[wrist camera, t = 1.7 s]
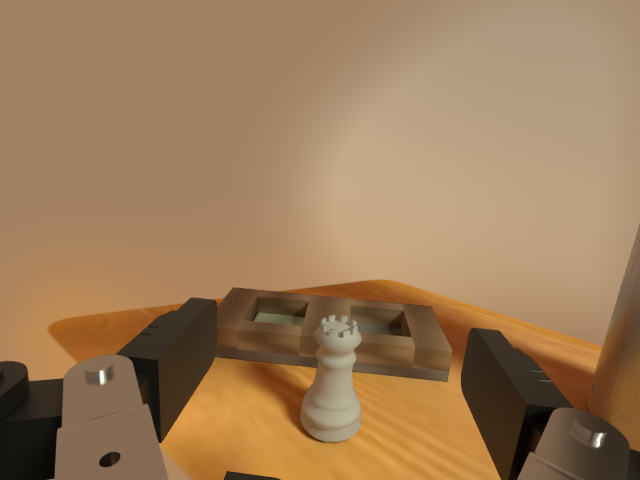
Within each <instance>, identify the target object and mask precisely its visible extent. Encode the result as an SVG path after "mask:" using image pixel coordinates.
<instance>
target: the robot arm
mask: <svg viewBox="0 0 640 480" xmlns="http://www.w3.org/2000/svg"><path fill="white" fill-rule="evenodd" d="M216 349H217V303H216V301H215V300H211V299H202V298H190V299H189V300H188V301H187V302H186V303H185V304H184V305H182V306H181V307H180V308H179V309H178V310H177V311H170V312H168V313H166V314H164V315H162V316H159V317H157V318H156V319H155V320H154V321H153V322H152V323H151V324H149V325H148V328H147V327H146V328H145V329H144V330H143V331H142V332H140V335H137V336H136V337H135V338H134V339H132V340H131V341H130V342H129V343H128V344H127V345H126V346H125V347H123V348H122V349H121V350H120V351H119V352H118V353H117V354H115V355H102V356H97V357H93V358H90V359H87V360H84V361H82V362H80V363H78V364H76V365H75V366H73V367H72V368H71V369H69V370H68V372H67V373H66V374H65V376H64V378H63V379H53V380H41V381H29V378H28V371H27V367H26V366H25V365H24V364H22V363H19V362H13V361H4V362H0V480H48V479H55V480H168V477H167V473H166V469H165V465H164V461H163V457H162V454H161V450H160V446H159V443H162V441H163V440H164V438H165V437H166V435H167V434H168V432H169V430H170V429H171V427H172V426H173V424H174V423H175V421H176V420H177V418H178V416H179V415H180V413H181V412H182V410H183V409H184V407H185V406H186V404H187V402H188V401H189V399H190V398H191V396H192V395H193V393H194V391H195V390H196V388H197V387H198V385H199V384H200V382H201V381H202V379H203V377H204V376H205V374H206V373H207V371H208V370H209V368H210V367H211V365H212V363H213V361H214V358H215V354H216ZM461 387H462V392H463V395H464V397H465V400H466V402H467V404H468V406H469V409H470V411H471V413H472V415H473V418H474V420H475V422H476V424H477V427H478V429H479V431H480V433H481V436H482V438H483V440H484V442H485V444H486V447H487V449H488V451H489V453H490V456H491V458H492V460H493V462H494V465H495V467H496V469H497V471H498V474H499V476H500V478H501V480H640V224H639V228H638V232H637V234H636V239H635V242H634V245H633V248H632V252H631V255H630V258H629V261H628V265H627V268H626V271H625V275H624V278H623V281H622V285H621V288H620V291H619V295H618V298H617V301H616V305H615V308H614V311H613V315H612V318H611V321H610V324H609V328H608V331H607V334H606V338H605V341H604V344H603V347H602V351H601V354H600V357H599V360H598V364H597V367H596V370H595V374H594V377H593V380H592V384H591V387H590V390H589V394H588V397H587V408H588V410H589V413H588V412H585V411H582V410H578V409H575V408H574V407H573V406H572V405H571V404H570V402H569V401H568V400H567V399H566V398H565V397H564V395H563V394H562V393H561V392H560V391H559V389H558V388H557V387H556V386H555V385H554V384H553V382H550V379H549V378H548V376H547V375H546V374H545V373H544V372H542V369H541V368H540V367H539V366H538V365H537V363H536V362H535V361H534V360H533V359H532V358H531V357H529V356H528V355H526V354H525V353H523V352H522V351H520V350H519V349H517V348H513V347H512V346H511V344H510V343H509V342H508V341H507V339H506V338H505V337H504V336H503V334H502V333H501V332H500V331H499V330H490V329H481V328H472V329H471V330H470V333H469V336H468V341H467V347H466V352H465V357H464V362H463V367H462V373H461ZM224 480H280V479H278V478H273V477H266V476H258V475H251V474H244V473H236V472H229V471H227V473H226V475H225V478H224Z"/></svg>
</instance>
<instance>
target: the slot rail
mask: <svg viewBox="0 0 640 480" xmlns="http://www.w3.org/2000/svg"><path fill="white" fill-rule="evenodd" d="M334 314H335V320H337V321H341V315H344V316H348V323H350V320H352V319H354V320H355V321H356V322H357V326H358V328H357V330H358V332H359V333H360V334H361V338H362V341H361V342H360V344H359V345H358V346H357V347H356V348H355V349H354V353H355V354H356V361H355V363H354V364H353V368H352V371H354V372H363V373H372V374H382V375H391V376H400V377H410V378H419V379H428V380H438V381H448V375H449V370H450V364H451V359H452V353H453V350H452V348H451V346H450V344H449V342H448V340H447V338H446V336H445V334H444V332H443V330H442V328H441V326H440V324H439V322H438V320H437V318H436V316H435V314H434V311H433V309H432V307H431V306H422V305H411V304H401V303H390V302H380V301H369V300H359V299H348V298H338V297H328V296H317V295H307V294H296V293H286V292H275V291H264V290H254V289H244V288H232V289H231V291H230V292H229V293H228V295H227V296H226V297H225V298H224V299H223V301H222V302H221V303H220V304H219V306H218V307H217V349H216V354H215V357H223V358H232V359H242V360H251V361H260V362H270V363H279V364H288V365H298V366H307V367H316V368H317V367H318V359H317V358H316V351H317V350H318V349H319V348H320V345H319V343H318V342H317V341H316V339H315V338H314V332H315V331H316V329H317V328H318V327H319V326H320V320H321V319H322V318H323V317H324V318H327V321H328V315H334ZM327 321H326V322H327Z"/></svg>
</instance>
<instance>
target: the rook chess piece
mask: <svg viewBox="0 0 640 480" xmlns="http://www.w3.org/2000/svg"><path fill="white" fill-rule="evenodd" d="M326 321H327V318H324V317H323V318H322V319H321V320H320V326H319V327H318V328H317V329H316V331H315V332H314V338H315V339H316V341H317V342H318V343H319V345H320V348H319V349H318V350H317V351H316V358H317V359H318V367H317V371H316V375H315V380H314V383H313V384H312V385H311V387H310V388H309V390H308V392H307V393H306V394H305V396H304V398H303V400H302V410H301V411H300V421H301V423H302V425H303V427H304V429H305V430H306V431H307V432H308V433H309V434H310V435H311V436H313V437H314V438H315V439H317V440H320V441H322V442H325V443H339V442H342V441H346V440H347V439H349V438H350V437H351V436H353V435H354V434H355V433H356V432H358V430H359V428H360V425H361V417H360V415H361V413H362V412H361V406H360V401H359V399H358V397H357V395H356V391H355V390H354V388H353V378H352V368H353V364H354V363H355V361H356V354H355V353H354V349H355V348H356V347H357V346H358V345H359V344H360V342H361V341H362V338H361V334H360V333H359V332H358V330H357V328H358V326H357V322H356V321H355V320H354V319H352V320H350V323H348V316H344V315H341V321H337V320H335V314H334V315H328V321H327V322H326Z"/></svg>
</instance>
